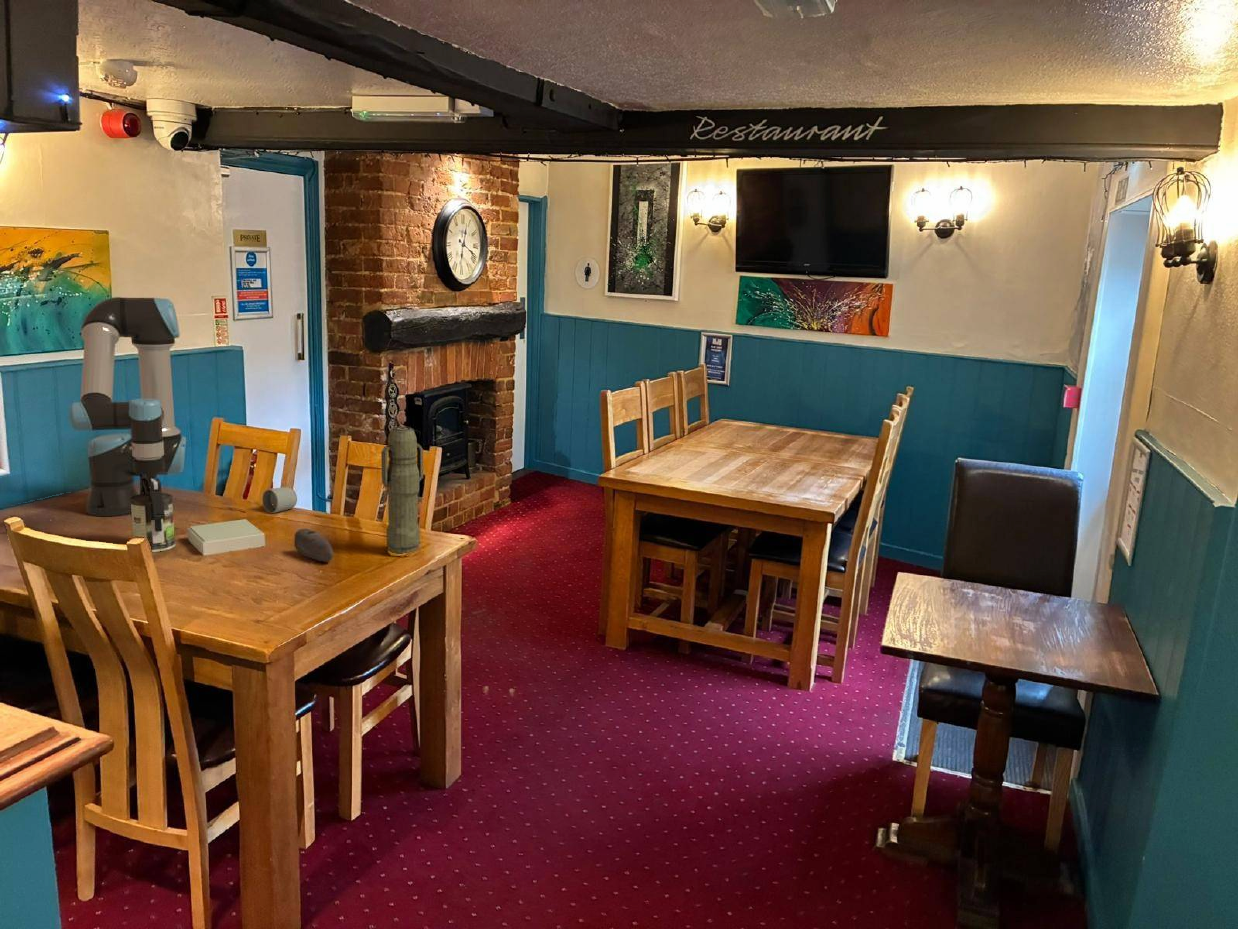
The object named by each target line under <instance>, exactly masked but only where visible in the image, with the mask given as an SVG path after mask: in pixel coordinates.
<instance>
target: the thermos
mask: <svg viewBox="0 0 1238 929" xmlns="http://www.w3.org/2000/svg"><path fill="white" fill-rule="evenodd" d="M417 440H418V439H417V436H416V433H415V430H414V428H412V427H410V426H395V427H393V428H391V429H390V431H389V434H388V438H387V444H386V446H383V448H382V450H381V482H382V485H384V486H386V487H385V488H386V489H385V490H386V494H387V499H388V500H387V504H388V506H387V507H388V511H387V513H388V515H387V517H388V524H387V528H386V546H387V550H388V551H390V552H392V553H396V554H403V553H409V552H413V551H416V550H418V548H419V549H420V545H421V540H420V538H421V537H420V536H421V533H420V532H421V530H420V526H419V523H418V522H419V520H418V519H419V518H418V515H419V514H418V512H419V510H418V507H419V506H418V504H419V503H418V502H419V501H418V495H419V492H420V481H422V479H423V478H424V448H423V447H422V446H421V444H419V443H418V442H417Z"/></svg>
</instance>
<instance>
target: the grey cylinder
mask: <svg viewBox="0 0 1238 929" xmlns="http://www.w3.org/2000/svg"><path fill="white" fill-rule="evenodd" d="M261 500H262V508H264V510H265V511H266V512H267V513H269V514H275V513H276V514H277V513H279V512H284V511H288V509H289V510H291V509H293V508H294V507H295V506H296V505H297V502H298V496H297V494H296V491H295V490H294V488H292V487H287V486H283V487H276V488H267V489H266V490H264V492H263V493H262V498H261ZM272 504H273V505H272Z"/></svg>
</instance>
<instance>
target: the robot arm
mask: <svg viewBox="0 0 1238 929" xmlns="http://www.w3.org/2000/svg"><path fill="white" fill-rule="evenodd" d="M82 321H83V322H82V324H81V330H80V331H81V332H80V336H81V338H82V340H83V341H84V343H83V346H84V347H83V362H82V370H81V371H82V373H81V386H80V389H81V390H80V401H77V402H72V403H71V404H70V407H69V419H70V420H69V421H70V422H69V423H70V425H71V428H72V429H73V430H75V431H88V432H89V431H90V432H92V431H108V430H109V431H110V430H111V431H112V430H119V431H120V430H123V431H124V430H130V433H128V432H124V433H123V432H119V433H112V434H105V435H99V436H97V437H94V438H92V439H91V440H90V441H89V442H88V445H87V457H88V465H89V478H90V479H89V480H90V490H89V493H88V496H87V500H86V504H85V511H86V514H87V513H88V514H87V515H90V516H93V517H116V516H117V517H118V516H125V515H131V514H130V513H131V504H130V497H132V496H135V495H139V494H143V496H144V495H146V496H148V498H149V501H150V502H151V501H152V504H151V514H152V518H149V520H150V521H151V526H152V540H153V544H154V543H161V542H164V528H163V518H165V515H164V508H163V500H162V493H163V492H162V482H161V481H160V478H158V476H169V475H178V474H180V473H182V472H183V471H184V467H185V466H184V465H185V457H186V455H185V454H186V446H187V444H186V443H187V438H186V436H183V435H181V434H182V433H181V430H180V429H179V428H177V427H176V426H175V412H174V411H175V409H174V397H173V396H174V395H173V394H174V393H173V382H172V365H171V348H172V347H173V346H175V344H176V341H175V339H179V338H180V336H181V333H180V329H179V328H180V327H179V321H178V317H177V313H176V309H175V305H174V303H173V302H172V300H170V299H168V298H161V297H120V296H119V297H118V296H115V297H109V298H106V299H105V300H102V301H100V302H99V303H97V304H95V305H94V306H93V307H92V308H91V310H89V311H88V313H87V314H86V316H85V317H84V319H83V320H82ZM120 338H130V340H131V345H133V346H134V347H135V348H136V349H137V355H138V356H137V358H138V369H139V382H140V396H141V397H140V398H135V399H131V400H130V401H113V396H114V372H115V371H114V370H115V356H116V355H115V353H116V352H115V351H116V344H117V343H118V342H119V341H120ZM135 477H139V491H138V490H137V487H136V485H135ZM156 514H157V515H156Z"/></svg>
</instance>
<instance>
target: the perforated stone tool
mask: <svg viewBox="0 0 1238 929" xmlns="http://www.w3.org/2000/svg"><path fill="white" fill-rule="evenodd" d="M293 543H294V545H293V546H294V548H295V549H296V550H297V552H298V553H300V554H301V555H303V556H304V557H306V558H309V559H311V558H312V560H314V559H315V560H314V561H317V560H318V562H321V561H323V562H322V563H327V562H328V563H329V562H331V561H332V559H333V557H334V551H333V550H334V549H333V547H332V545H331V543H330V542H329V541H328V540H327V539H326V538H325V537H324V536H323V535H321V533H318V532H317V531H314V530H312V529H309V528H300V529H298V530H297V531H296V532H295V534H294V542H293Z"/></svg>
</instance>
